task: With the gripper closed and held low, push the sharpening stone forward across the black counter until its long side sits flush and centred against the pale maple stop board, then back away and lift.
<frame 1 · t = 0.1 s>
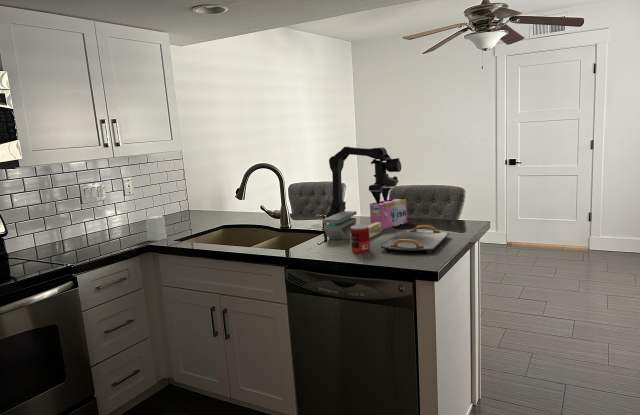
hand: (382, 202, 246), 15 cm above the worktop, fingers open, 9 cm apart
canned food: (361, 251, 207), on the worktop
gum box: (389, 226, 261), on the worktop
supplement box: (157, 239, 266), on the worktop
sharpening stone: (341, 237, 241), on the worktop
maple stop board: (366, 237, 234), on the worktop
serving board: (416, 245, 213), on the worktop
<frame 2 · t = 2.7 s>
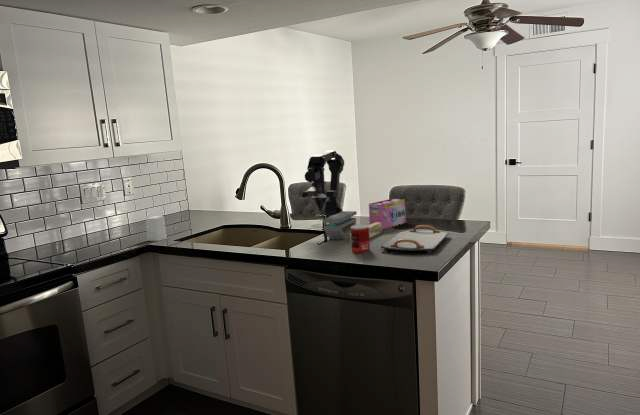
hand: (320, 210, 244), 13 cm above the worktop, fingers closed
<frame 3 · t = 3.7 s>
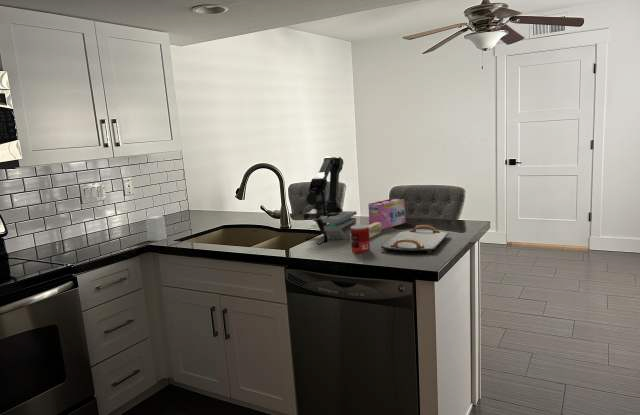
hand: (322, 232, 246), 2 cm above the worktop, fingers closed
nothing on the worktop moved.
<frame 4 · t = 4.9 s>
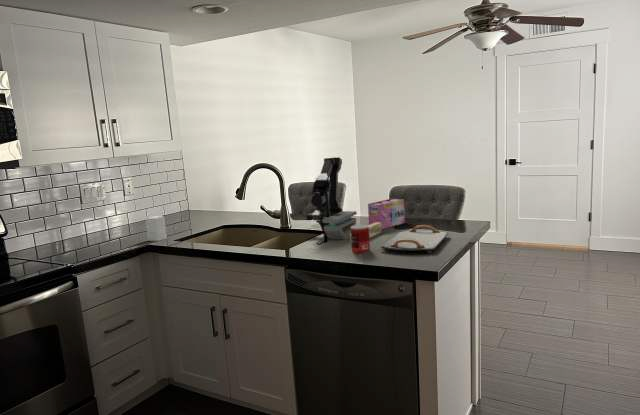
hand: (325, 233, 245), 1 cm above the worktop, fingers closed
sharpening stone: (341, 237, 241), on the worktop, touching gripper
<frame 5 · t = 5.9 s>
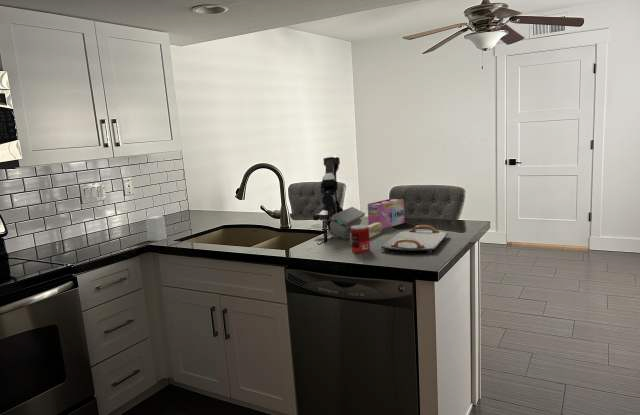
hand: (332, 233, 243), 1 cm above the worktop, fingers closed, pressing on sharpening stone
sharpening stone: (341, 233, 240), point 2 cm above the worktop, touching gripper
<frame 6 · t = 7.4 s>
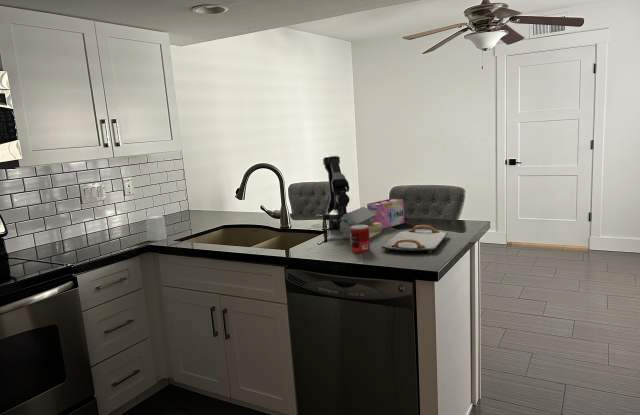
hand: (342, 233, 240), 1 cm above the worktop, fingers closed, pressing on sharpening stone
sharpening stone: (351, 233, 238), point 2 cm above the worktop, touching gripper
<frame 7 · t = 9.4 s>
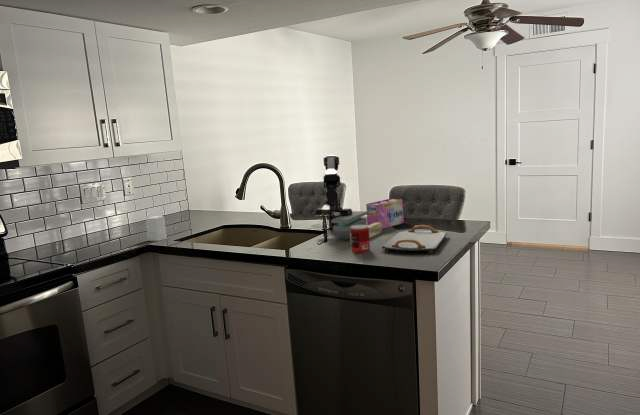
hand: (334, 228, 243), 4 cm above the worktop, fingers closed
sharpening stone: (351, 237, 238), on the worktop
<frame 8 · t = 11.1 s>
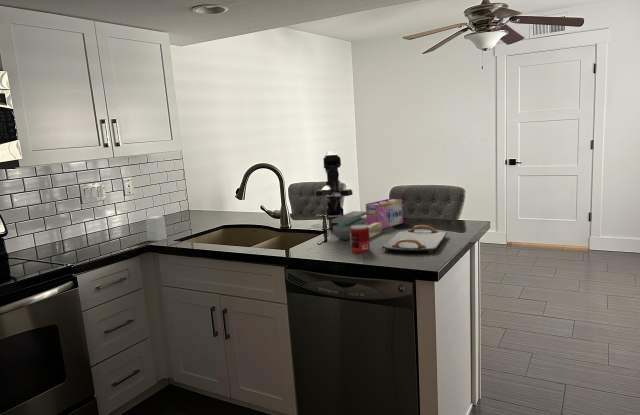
hand: (334, 209, 245), 13 cm above the worktop, fingers closed
at the end: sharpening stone 1.0 cm from the target spot on the worktop beside the maple stop board, on the worktop; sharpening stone tilted 0° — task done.
